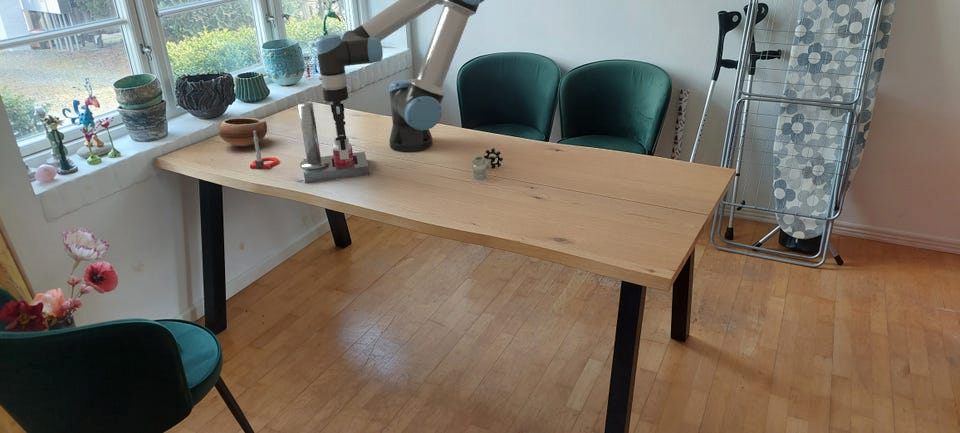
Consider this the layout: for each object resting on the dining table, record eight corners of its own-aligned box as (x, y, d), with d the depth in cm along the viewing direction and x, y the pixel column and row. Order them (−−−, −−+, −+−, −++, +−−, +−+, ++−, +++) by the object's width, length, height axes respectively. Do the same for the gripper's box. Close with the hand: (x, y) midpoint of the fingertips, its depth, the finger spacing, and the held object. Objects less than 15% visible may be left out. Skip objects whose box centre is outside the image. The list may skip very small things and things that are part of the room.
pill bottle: (348, 174, 218) (344, 141, 214) (332, 172, 220) (327, 140, 216) (358, 167, 224) (354, 135, 219) (341, 165, 226) (337, 133, 221)
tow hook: (260, 160, 235) (247, 168, 227) (254, 123, 230) (241, 131, 222) (283, 160, 234) (271, 169, 226) (277, 124, 229) (265, 131, 221)
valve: (486, 182, 208) (503, 168, 217) (485, 162, 205) (502, 149, 215) (467, 179, 211) (485, 166, 220) (466, 159, 208) (484, 146, 217)
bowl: (276, 141, 251) (272, 115, 247) (242, 155, 239) (237, 128, 235) (248, 136, 259) (243, 110, 255) (213, 148, 247) (208, 122, 243)
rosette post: (365, 160, 230) (357, 93, 220) (369, 174, 217) (360, 104, 207) (301, 167, 226) (290, 99, 216) (301, 183, 213) (290, 111, 203)
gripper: (321, 78, 221) (330, 141, 230) (323, 98, 199) (333, 166, 208) (344, 76, 222) (352, 138, 231) (349, 95, 200) (358, 163, 209)
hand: (343, 151), depth 219 cm, fingers open, 13 cm apart
